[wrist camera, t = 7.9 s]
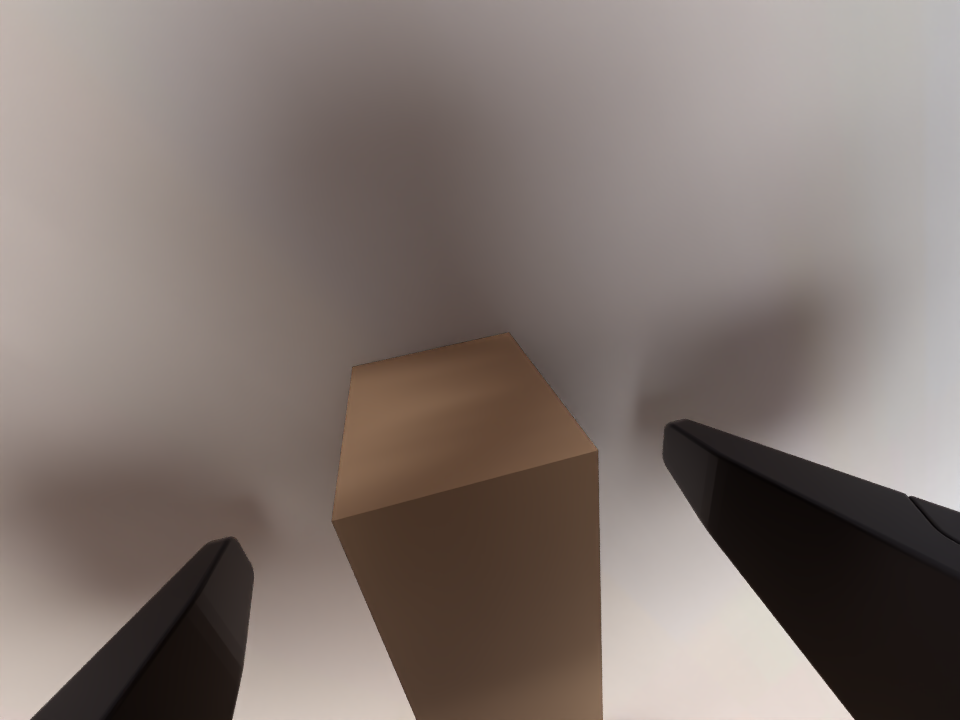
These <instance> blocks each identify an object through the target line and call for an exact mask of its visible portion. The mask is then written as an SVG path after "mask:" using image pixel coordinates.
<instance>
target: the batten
mask: <svg viewBox="0 0 960 720" xmlns="http://www.w3.org/2000/svg"><path fill="white" fill-rule="evenodd" d="M332 523H333V526H334V528H335V530H336V533H337V535H338V537H339V540H340V542H341V544H342V547H343V549H344V551H345V554H346V556H347V558H348V561H349V563H350V565H351V568H352V570H353V572H354V575H355V577H356V579H357V582H358V584H359V587H360V589H361V591H362V594H363V596H364V598H365V601H366V603H367V605H368V608H369V610H370V612H371V615H372V617H373V619H374V622H375V624H376V626H377V629H378V631H379V633H380V636H381V638H382V640H383V643H384V645H385V647H386V650H387V652H388V654H389V657H390V659H391V661H392V664H393V666H394V669H395V671H396V673H397V676H398V678H399V680H400V683H401V685H402V687H403V690H404V692H405V694H406V697H407V699H408V701H409V704H410V706H411V708H412V711H413V713H414V715H415V718H416V720H603V704H602V645H601V587H600V528H599V470H598V449H597V448H596V447H595V445H594V444H593V443H592V441H591V440H590V439H589V437H588V436H587V435H586V434H585V432H584V431H583V430H582V428H581V427H580V426H579V424H578V423H577V422H576V420H575V419H574V418H573V416H572V415H571V414H570V412H569V411H568V410H567V408H566V407H565V406H564V404H563V403H562V402H561V401H560V399H559V398H558V397H557V395H556V394H555V393H554V391H553V390H552V389H551V387H550V386H549V385H548V383H547V382H546V381H545V379H544V378H543V377H542V375H541V374H540V373H539V371H538V370H537V369H536V367H535V366H534V365H533V364H532V362H531V361H530V360H529V358H528V357H527V356H526V354H525V353H524V352H523V350H522V349H521V348H520V346H519V345H518V344H517V342H516V341H515V340H514V338H513V337H512V336H511V334H510V333H509V332H508V333H503V334H499V335H494V336H490V337H485V338H481V339H476V340H471V341H467V342H462V343H458V344H453V345H449V346H444V347H440V348H435V349H431V350H426V351H422V352H417V353H413V354H408V355H404V356H399V357H395V358H390V359H386V360H381V361H377V362H372V363H368V364H363V365H359V366H354V367H352V374H351V382H350V389H349V396H348V404H347V411H346V419H345V426H344V433H343V441H342V448H341V455H340V463H339V470H338V478H337V485H336V492H335V500H334V507H333V514H332Z"/></svg>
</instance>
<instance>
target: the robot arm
mask: <svg viewBox="0 0 960 720" xmlns="http://www.w3.org/2000/svg"><path fill="white" fill-rule="evenodd" d="M662 455H663V460H664V463H665V465H666V467H667V469H668V470H669V472H670V473H671V475H672V477H673V478H674V480H675V481H676V483H677V485H678V486H679V488H680V489H681V491H682V492H683V494H684V496H685V497H686V499H687V500H688V502H689V503H690V505H691V507H692V508H693V510H694V511H695V513H696V514H697V516H698V518H699V519H700V521H701V522H702V524H703V525H704V527H705V528H706V530H707V531H708V532H709V534H710V535H711V536H712V538H713V539H714V540H715V542H716V543H717V544H718V545H719V547H720V548H721V549H722V551H723V552H724V553H725V554H726V556H727V557H728V558H729V560H730V561H731V562H732V563H733V565H734V566H735V567H736V568H737V570H738V571H739V572H740V574H741V575H742V576H743V577H744V579H745V580H746V581H747V583H748V584H749V585H750V586H751V588H752V589H753V590H754V592H755V593H756V594H757V595H758V597H759V598H760V599H761V600H762V602H763V603H764V604H765V606H766V607H767V608H768V609H769V611H770V612H771V613H772V615H773V616H774V617H775V618H776V620H777V621H778V622H779V624H780V625H781V626H782V627H783V629H784V630H785V631H786V633H787V634H788V635H789V636H790V638H791V639H792V640H793V641H794V643H795V644H796V645H797V647H798V648H799V649H800V650H801V652H802V653H803V654H804V656H805V657H806V658H807V659H808V661H809V662H810V663H811V665H812V666H813V667H814V668H815V670H816V671H817V672H818V673H819V675H820V676H821V677H822V679H823V680H824V681H825V682H826V684H827V685H828V686H829V688H830V689H831V690H832V691H833V693H834V694H835V695H836V697H837V698H838V699H839V700H840V702H841V703H842V704H843V705H844V707H845V708H846V709H847V711H848V712H849V713H850V714H851V716H852V717H853V718H854V720H960V512H958V511H955V510H952V509H949V508H946V507H943V506H940V505H937V504H934V503H931V502H928V501H925V500H923V499H920V498H917V497H914V496H909V497H908V496H907V495H906V494H904V493H902V492H899V491H896V490H893V489H890V488H887V487H884V486H881V485H878V484H875V483H873V482H870V481H867V480H864V479H861V478H858V477H855V476H852V475H849V474H846V473H843V472H840V471H837V470H834V469H832V468H829V467H826V466H823V465H820V464H817V463H814V462H811V461H808V460H805V459H802V458H799V457H796V456H794V455H791V454H788V453H785V452H782V451H779V450H776V449H773V448H770V447H767V446H764V445H761V444H758V443H755V442H753V441H750V440H747V439H744V438H741V437H738V436H735V435H732V434H729V433H726V432H723V431H720V430H717V429H715V428H712V427H709V426H706V425H703V424H700V423H697V422H694V421H691V420H688V419H681V420H677V421H674V422H670V423H668V424H667V425H666V426H665V429H664V439H663V452H662ZM253 582H254V572H253V567H252V565H251V563H250V561H249V559H248V558H247V556H246V554H245V552H244V551H243V549H242V547H241V545H240V544H239V542H238V540H237V539H236V538H234V537H226V538H222V539H218V540H214V541H211V542H208V543H207V544H206V545H204V546H203V547H202V548H201V549H200V550H199V551H198V552H197V553H196V554H195V555H194V556H193V557H192V558H191V559H190V560H189V561H188V562H187V563H186V564H185V565H184V566H183V567H182V568H181V569H180V570H179V571H178V572H177V573H176V574H175V575H174V576H173V577H172V578H171V579H170V580H169V581H168V582H167V583H166V584H165V585H164V586H163V587H162V588H161V589H160V590H159V591H158V592H157V593H156V594H155V595H154V596H153V597H152V598H151V599H150V600H149V601H148V602H147V603H146V604H145V605H144V606H143V607H142V608H141V609H140V610H139V611H138V612H137V613H136V614H135V615H134V616H133V617H132V618H131V619H130V620H129V621H128V622H127V623H126V624H125V625H124V626H123V627H122V628H121V629H120V630H119V631H118V632H117V633H116V634H115V635H114V636H113V637H112V638H111V639H110V640H109V641H108V642H107V643H106V644H105V645H104V646H103V647H102V648H101V649H100V650H99V651H98V652H97V653H96V654H95V655H94V656H93V657H92V658H91V659H90V660H89V661H88V662H87V663H86V664H85V665H84V666H83V667H82V668H81V669H80V670H79V671H78V672H77V673H76V674H75V675H74V676H73V677H72V678H71V679H70V680H69V681H68V682H67V683H66V684H65V685H64V686H63V687H62V688H61V689H60V690H59V691H58V692H57V693H56V694H55V695H54V696H53V697H52V698H51V699H50V700H49V701H48V702H47V703H46V704H45V705H44V706H43V707H42V708H41V709H40V710H39V711H38V712H37V713H36V714H35V715H34V716H33V717H32V718H31V719H30V720H232V719H233V714H234V709H235V705H236V700H237V696H238V691H239V687H240V682H241V677H242V672H243V666H244V659H245V651H246V643H247V634H248V625H249V617H250V608H251V599H252V591H253Z"/></svg>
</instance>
